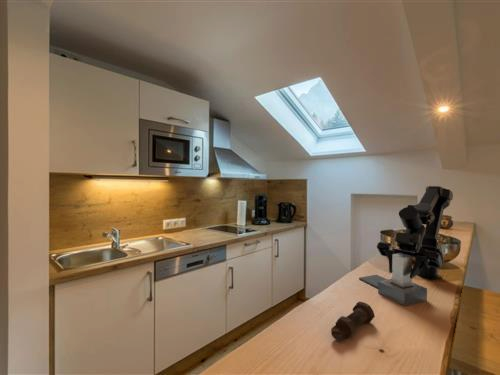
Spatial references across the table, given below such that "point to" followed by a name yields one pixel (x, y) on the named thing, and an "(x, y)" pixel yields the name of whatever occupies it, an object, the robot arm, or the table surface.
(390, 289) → the socket block
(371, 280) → the rubber mat
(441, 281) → the table surface
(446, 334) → the table surface
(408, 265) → the steel peg
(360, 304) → the bolt
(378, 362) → the table surface
